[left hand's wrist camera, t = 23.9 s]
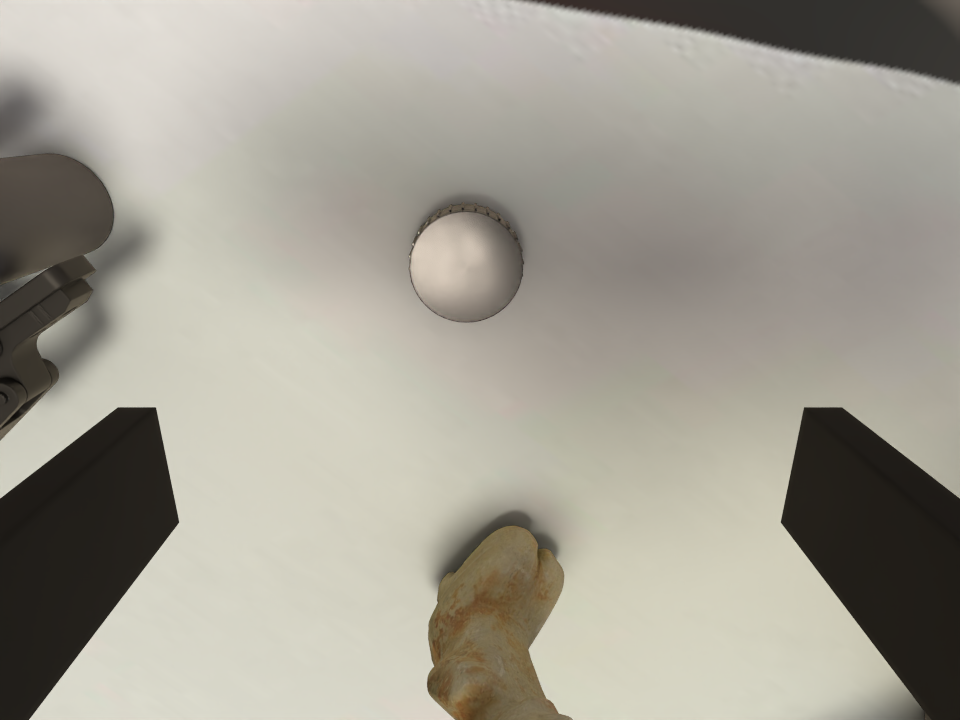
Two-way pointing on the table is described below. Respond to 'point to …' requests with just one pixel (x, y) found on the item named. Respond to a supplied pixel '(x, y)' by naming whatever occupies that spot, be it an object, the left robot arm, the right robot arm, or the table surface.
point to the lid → (466, 263)
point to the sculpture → (494, 630)
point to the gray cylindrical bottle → (48, 213)
